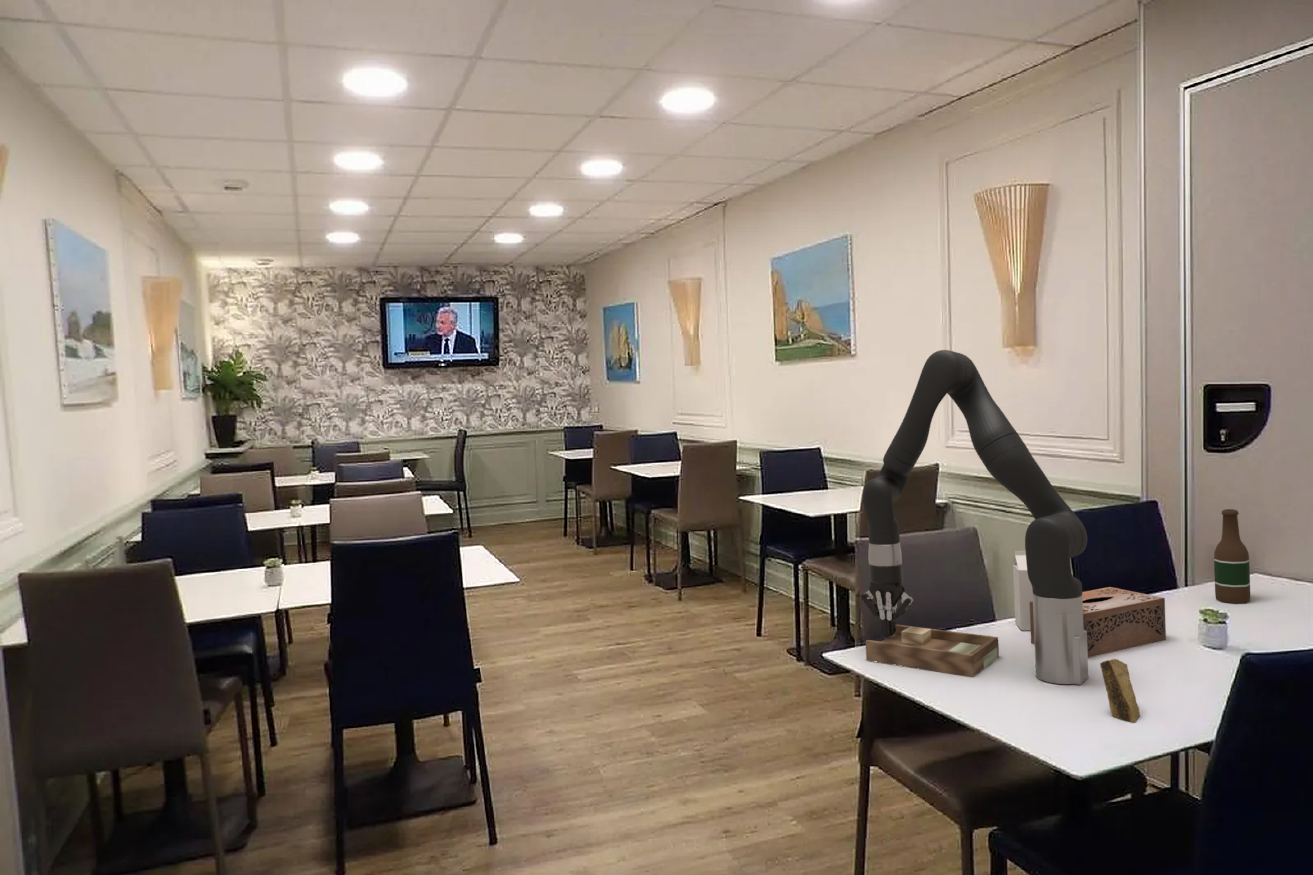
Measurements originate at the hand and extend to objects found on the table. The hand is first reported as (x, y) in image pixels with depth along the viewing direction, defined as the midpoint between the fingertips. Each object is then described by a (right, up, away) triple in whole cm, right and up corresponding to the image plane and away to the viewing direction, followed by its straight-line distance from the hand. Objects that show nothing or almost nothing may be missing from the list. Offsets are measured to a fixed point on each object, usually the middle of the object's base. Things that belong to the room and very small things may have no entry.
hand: (888, 634), depth 207 cm
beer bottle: (+97, +3, +24) cm, 100 cm away
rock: (+31, -4, -47) cm, 56 cm away
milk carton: (+38, -1, +11) cm, 40 cm away
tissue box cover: (+47, -1, -4) cm, 47 cm away
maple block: (+5, -1, -4) cm, 7 cm away
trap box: (+7, -3, -10) cm, 13 cm away
